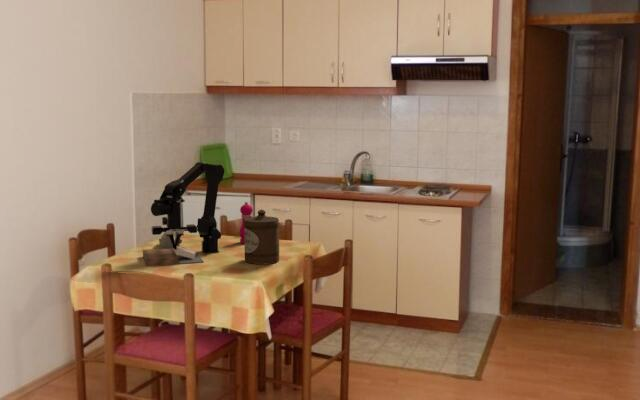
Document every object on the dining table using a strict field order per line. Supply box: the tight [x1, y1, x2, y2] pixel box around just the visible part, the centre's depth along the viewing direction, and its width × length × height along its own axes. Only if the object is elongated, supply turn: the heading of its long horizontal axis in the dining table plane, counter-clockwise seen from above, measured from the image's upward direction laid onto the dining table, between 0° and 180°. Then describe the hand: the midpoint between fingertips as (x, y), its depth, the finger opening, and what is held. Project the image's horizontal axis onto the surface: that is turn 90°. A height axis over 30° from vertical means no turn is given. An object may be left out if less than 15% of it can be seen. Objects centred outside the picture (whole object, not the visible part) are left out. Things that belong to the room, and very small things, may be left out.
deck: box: [142, 248, 180, 267], centre depth 313 cm, size 13×18×3 cm
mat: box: [178, 253, 205, 265], centre depth 316 cm, size 10×16×1 cm, turn 18°
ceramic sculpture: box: [158, 232, 183, 249], centre depth 340 cm, size 11×9×15 cm
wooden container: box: [243, 209, 280, 265], centre depth 313 cm, size 15×15×22 cm
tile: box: [174, 245, 196, 259], centre depth 316 cm, size 8×6×2 cm
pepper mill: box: [238, 201, 254, 245], centre depth 351 cm, size 7×7×20 cm
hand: (174, 249), depth 315 cm, fingers closed
